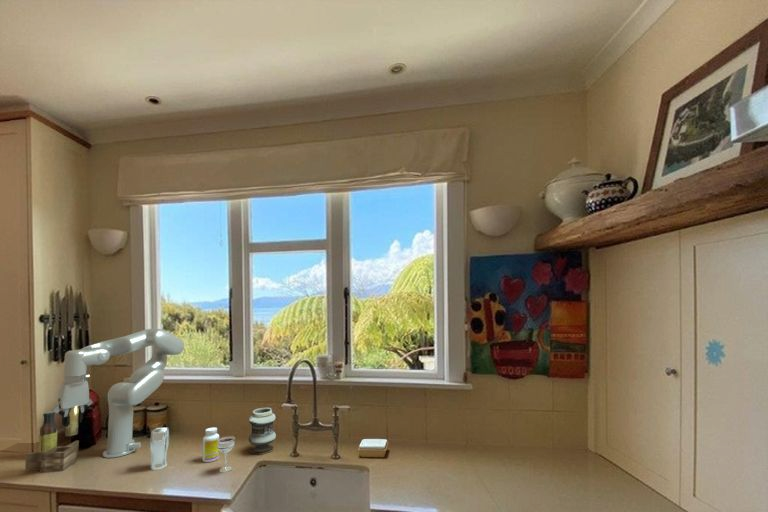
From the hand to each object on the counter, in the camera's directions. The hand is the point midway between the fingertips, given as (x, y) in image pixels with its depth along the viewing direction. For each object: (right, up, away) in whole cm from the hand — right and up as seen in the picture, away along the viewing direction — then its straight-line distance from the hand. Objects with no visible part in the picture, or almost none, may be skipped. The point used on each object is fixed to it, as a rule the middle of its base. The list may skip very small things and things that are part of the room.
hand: (72, 423), depth 161 cm
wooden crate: (-12, -20, +6) cm, 24 cm away
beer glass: (+36, -19, +1) cm, 41 cm away
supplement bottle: (+55, -19, +7) cm, 59 cm away
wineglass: (+66, -18, -3) cm, 69 cm away
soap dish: (+127, -18, +9) cm, 129 cm away
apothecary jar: (+75, -20, +16) cm, 79 cm away
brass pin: (0, -4, -1) cm, 4 cm away
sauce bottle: (-23, -22, +14) cm, 34 cm away
